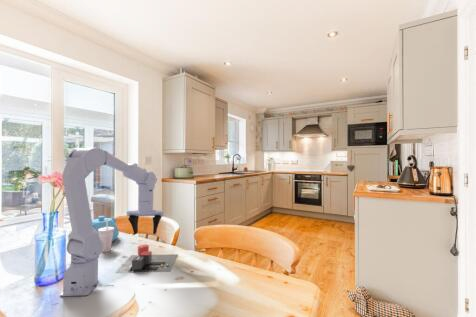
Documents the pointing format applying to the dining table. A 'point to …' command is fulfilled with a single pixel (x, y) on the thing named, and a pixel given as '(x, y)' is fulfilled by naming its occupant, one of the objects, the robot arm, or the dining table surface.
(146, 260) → the breaker tagged
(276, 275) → the dining table surface
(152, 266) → the breaker panel
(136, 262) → the breaker plain
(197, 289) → the dining table surface
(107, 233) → the smoothie
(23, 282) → the dining table surface
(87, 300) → the dining table surface
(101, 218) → the teapot
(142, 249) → the lockout cap
